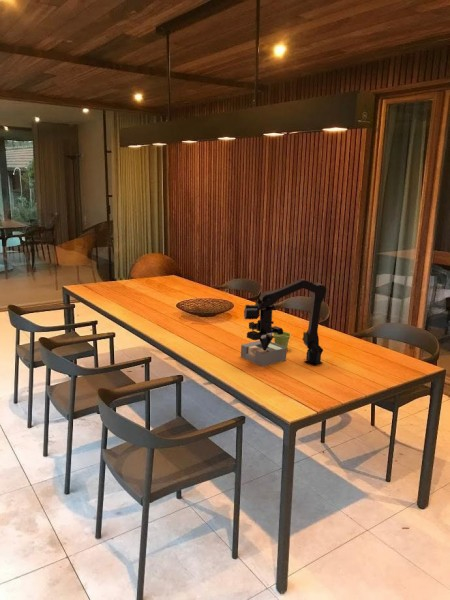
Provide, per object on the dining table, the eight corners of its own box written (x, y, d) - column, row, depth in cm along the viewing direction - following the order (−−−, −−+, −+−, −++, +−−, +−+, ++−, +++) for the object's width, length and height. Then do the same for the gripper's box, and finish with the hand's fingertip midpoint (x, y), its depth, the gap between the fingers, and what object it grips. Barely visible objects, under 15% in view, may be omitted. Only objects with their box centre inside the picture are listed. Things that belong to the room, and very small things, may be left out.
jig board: (286, 360, 239) (286, 347, 237) (261, 366, 229) (262, 353, 228) (264, 351, 251) (265, 339, 249) (240, 357, 241) (241, 344, 240)
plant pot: (292, 349, 256) (293, 333, 254) (285, 354, 248) (286, 338, 246) (276, 345, 260) (277, 330, 258) (269, 350, 252) (270, 334, 250)
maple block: (266, 357, 233) (266, 350, 232) (260, 358, 231) (260, 352, 230) (254, 352, 240) (254, 345, 239) (248, 353, 238) (248, 346, 237)
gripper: (269, 312, 239) (267, 342, 243) (239, 317, 228) (238, 349, 232) (284, 317, 230) (283, 348, 234) (255, 323, 219) (253, 355, 223)
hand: (264, 350), depth 231 cm, fingers closed
